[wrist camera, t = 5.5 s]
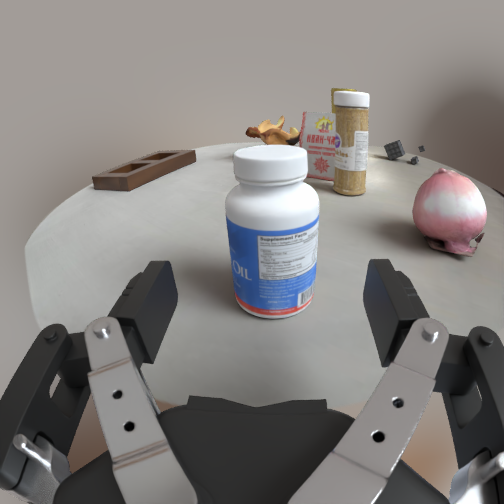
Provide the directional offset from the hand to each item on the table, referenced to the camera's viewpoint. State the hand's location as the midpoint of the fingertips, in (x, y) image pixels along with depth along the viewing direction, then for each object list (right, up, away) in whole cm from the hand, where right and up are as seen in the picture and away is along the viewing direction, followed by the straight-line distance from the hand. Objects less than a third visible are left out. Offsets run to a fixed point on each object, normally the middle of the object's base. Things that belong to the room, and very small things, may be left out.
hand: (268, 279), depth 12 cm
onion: (+18, +2, +13) cm, 23 cm away
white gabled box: (+11, +13, +33) cm, 37 cm away
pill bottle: (+1, -2, +9) cm, 9 cm away
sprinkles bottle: (+12, +9, +27) cm, 31 cm away
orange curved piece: (+5, +19, +45) cm, 49 cm away
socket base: (-21, +16, +43) cm, 51 cm away
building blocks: (+31, +20, +43) cm, 57 cm away
